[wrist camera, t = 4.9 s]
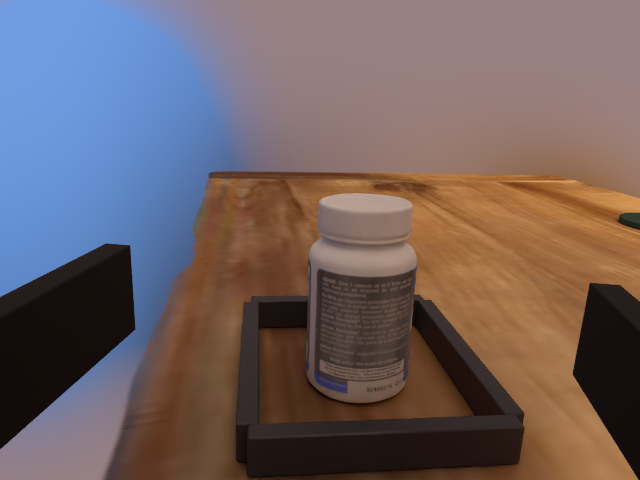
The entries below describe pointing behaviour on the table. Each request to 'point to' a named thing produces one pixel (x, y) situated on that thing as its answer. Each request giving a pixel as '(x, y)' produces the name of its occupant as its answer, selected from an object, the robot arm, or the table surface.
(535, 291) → the table surface
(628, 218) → the mat
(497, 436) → the dark brown rectangular frame
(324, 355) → the pill bottle
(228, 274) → the table surface
